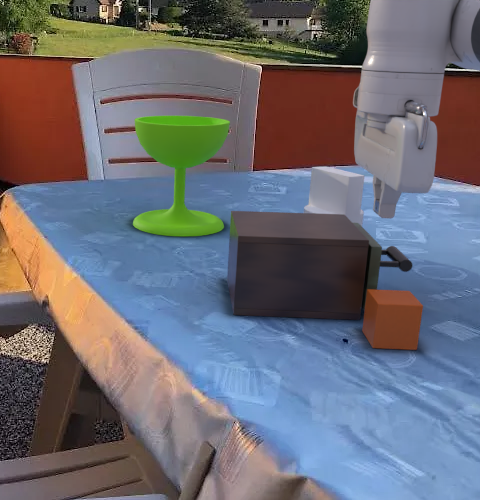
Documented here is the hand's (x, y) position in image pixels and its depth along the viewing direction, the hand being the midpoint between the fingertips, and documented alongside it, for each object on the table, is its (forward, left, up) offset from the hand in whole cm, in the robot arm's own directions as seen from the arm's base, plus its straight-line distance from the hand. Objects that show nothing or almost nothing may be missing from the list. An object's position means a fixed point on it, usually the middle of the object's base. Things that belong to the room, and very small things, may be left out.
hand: (383, 215), depth 85 cm
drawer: (+6, 0, -10) cm, 12 cm away
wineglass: (+24, -36, -11) cm, 45 cm away
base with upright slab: (0, -25, -11) cm, 27 cm away
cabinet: (+10, 0, -11) cm, 15 cm away
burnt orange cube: (+1, +12, -11) cm, 16 cm away
